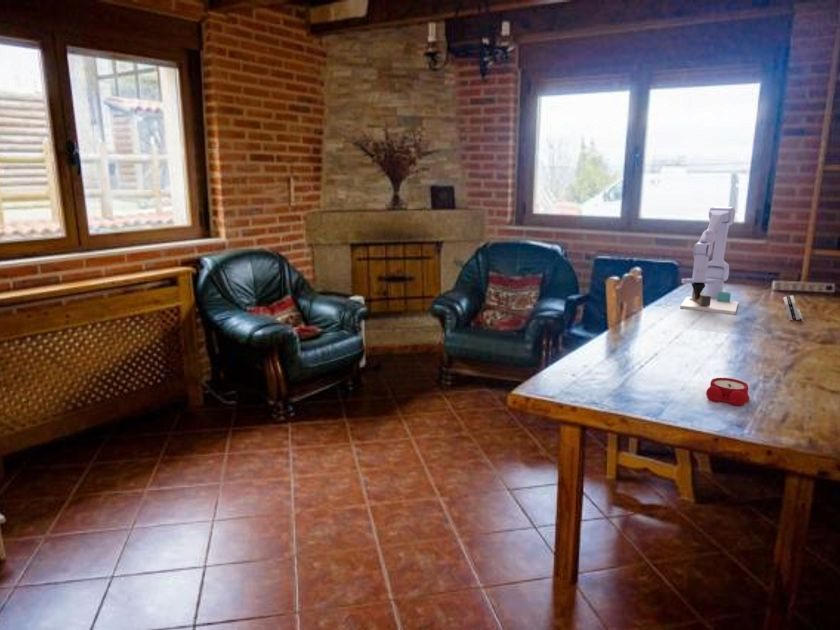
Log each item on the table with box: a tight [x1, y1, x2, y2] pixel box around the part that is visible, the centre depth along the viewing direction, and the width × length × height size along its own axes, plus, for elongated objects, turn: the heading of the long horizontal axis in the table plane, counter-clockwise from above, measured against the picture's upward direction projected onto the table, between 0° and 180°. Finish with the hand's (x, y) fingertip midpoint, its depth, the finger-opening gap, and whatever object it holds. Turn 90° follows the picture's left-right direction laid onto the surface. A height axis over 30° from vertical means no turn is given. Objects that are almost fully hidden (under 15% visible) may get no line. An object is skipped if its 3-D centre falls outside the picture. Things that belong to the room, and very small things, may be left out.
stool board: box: [679, 291, 739, 315], centre depth 274 cm, size 23×22×5 cm
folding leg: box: [691, 289, 711, 306], centre depth 274 cm, size 16×3×5 cm, turn 173°
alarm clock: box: [706, 377, 750, 407], centre depth 163 cm, size 10×6×15 cm
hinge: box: [783, 295, 804, 322], centre depth 255 cm, size 17×5×10 cm, turn 152°
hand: (696, 299), depth 272 cm, fingers closed
